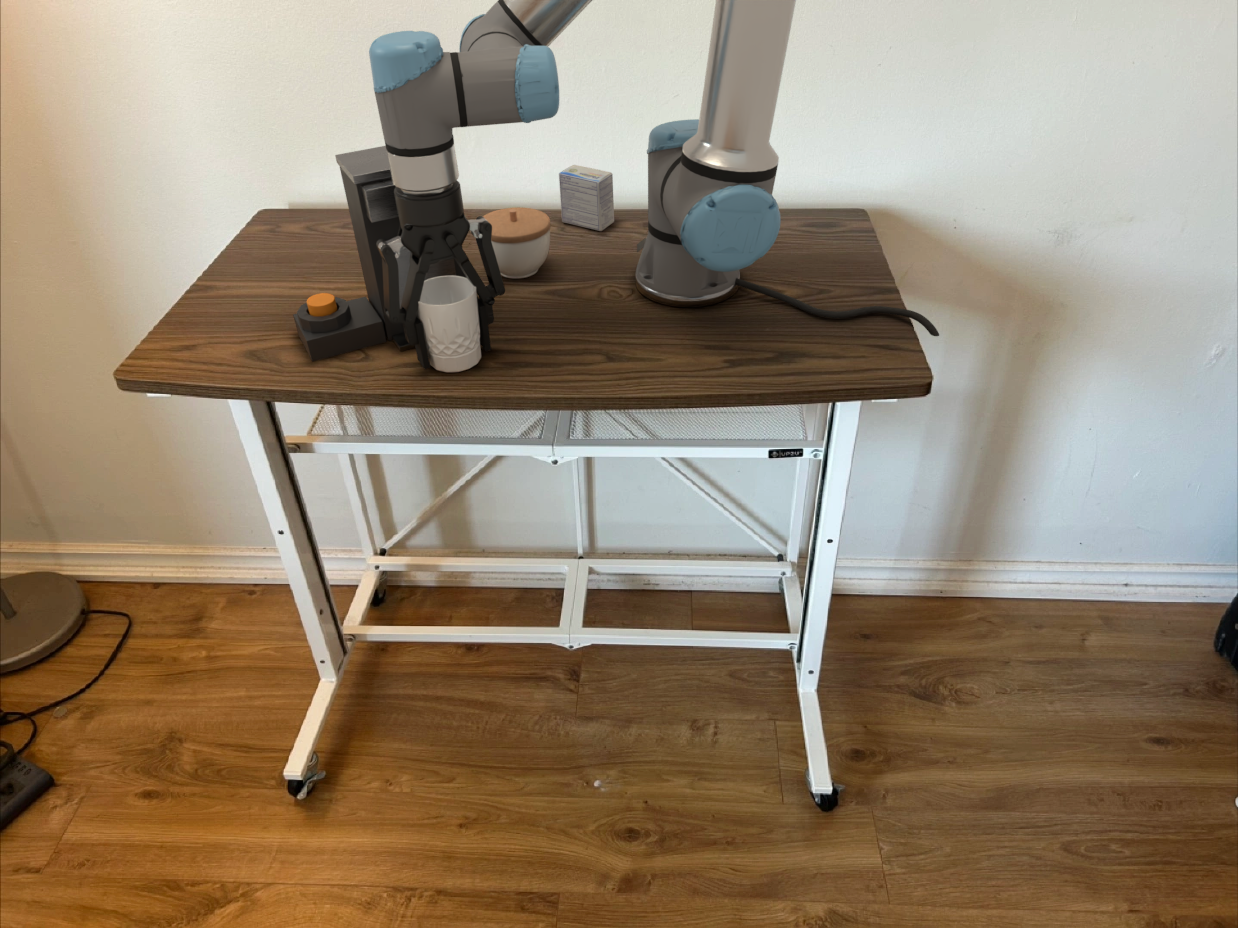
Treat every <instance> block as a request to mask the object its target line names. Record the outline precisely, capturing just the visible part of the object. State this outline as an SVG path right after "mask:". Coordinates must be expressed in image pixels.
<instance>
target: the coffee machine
mask: <svg viewBox="0 0 1238 928" xmlns="http://www.w3.org/2000/svg"><path fill="white" fill-rule="evenodd" d="M334 157H335V161H336V164H337V165H338V166H339V170H340V175H341V180H342V184H343V190H344V192H345V197H346V202H347V207H348V211H349V216H350V220H351V221H350V222H351V225H352V230H353V234H354V239H355V244H356V249H357V253H358V258H359V262H360V266H361V272H362V276H363V280H364V284H365V290H366V294H367V299H368V301H369V302H370V304H371V305H372V307H373V308H374V310H375V311H376V313H377V314H378V316H379V317H380V319H381V320H382V322H383V327H384V332H385V336H386V340H387V342H393V344H394V345H395V346H396V347H397V349H398V350H399V352H400V353H402V352H405V351H408V350H413V349H416V348H415V345H414V346H411V345H410V344H409V342H408V341H407V340H406V338H405V333H404V328H403V323H399V322H398V323H397V324H393V323H391V321H390V320H389V319H388V317H387V316H386V314H385V312H384V291H383V268H382V257H381V255H380V252H379V250H378V248H377V245H376V243H377V241H378V240H379V239H384V240H385V241H387V240H390V239H392V238H394V237H397V236H398V232H399V229H400V221H399V216H398V210H397V205H396V200H395V195H394V189H395V188H396V186H395V185H394V184H393V183H392V178H391V172H390V167H389V161H388V155H387V149H386V145H381V146H376V147H371V148H366V149H361V150H354V151H349V152H345V153H339V154H335V155H334ZM461 247H462V248H463V245H462V246H461ZM410 255H411V252H410V251H409V250H408V249H407V248H406V247H405V246H403V247H401V249H400V256H399V258H397V259H396V260H397V263H398V272H399V302H400V308H401V303H402V299H403V294H404V290H405V285H406V281H407V276H408V272H409V267H410ZM450 275H451V276H461V277H465V278H467V277H466V276H465V274H464V273H463V271H462V269H461V268H460V266H459V265H458V263H457V262H456V260H455V259H450V260H440V261H438V262H437V263H434V264H430V266H429V270H428V273H427V274H426V276H425V280H427V279H430V278H434V277H439V276H450ZM425 280H424V281H425ZM416 316H417V315H416Z"/></svg>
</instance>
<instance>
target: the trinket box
mask: <svg viewBox="0 0 1238 928" xmlns="http://www.w3.org/2000/svg"><path fill="white" fill-rule="evenodd" d="M482 217H484V218H485V219H486V220H487V221H488V222H489V223H490V224H491V225H492V238H491V242H492V245H493V249H494V252H495V256H496V259H497V263H498V266H499V270H500V273H501V277H504V278H508V279H524V278H528V277H531V276H533V275H535V274H536V273H537V272H538V271H539V269H540V268H541V267H542V265H543V264H544V263H545V261H546V260H547V258H548V255H549V253H550V247H551V219H550V217H549V216H548V214H547V213H545V212H543V211H541V210H539V209H535V208H531V207H521V206H519V207H518V206H517V207H506V208H500V209H497V210H493V211H491V212H488V213H486V214H484V215H482Z"/></svg>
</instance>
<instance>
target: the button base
mask: <svg viewBox="0 0 1238 928" xmlns="http://www.w3.org/2000/svg"><path fill="white" fill-rule="evenodd" d="M334 297H335V300H336V305H337V311H336V312H334V313H332V314H331V315H327V316H312V315H310V313H309V310H308V306H307V301H306V302H304V303H302V304H301V305H300V306H299V308H298V309H297V311H296V313H293V314H292V317H293V320H294V324H295V327H296V331H297V335H298V337H299V339H300V341H301V342H302V345H303V347H304V348H305V351H306V352H307V354H308V356H309V358H310V360H311V362H317V361H321V360H324V359H327V358H331V357H335V356H339V355H342V354H347V353H351V352H354V351H357V350H362V349H365V348H369V347H372V346H376V345H380V344H383V343H387V342H388V340H387V338H386V336H385V332H384V327H383V322H382V320H381V319H380V317H379V316H378V314H377V313H376V311H375V310H374V308H373V307H372V305H371V304H370V302H369V299H368V297H366V296H362V297H358V298H354V299H350V300H346V299H344V298H342V297H338V296H334Z"/></svg>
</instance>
